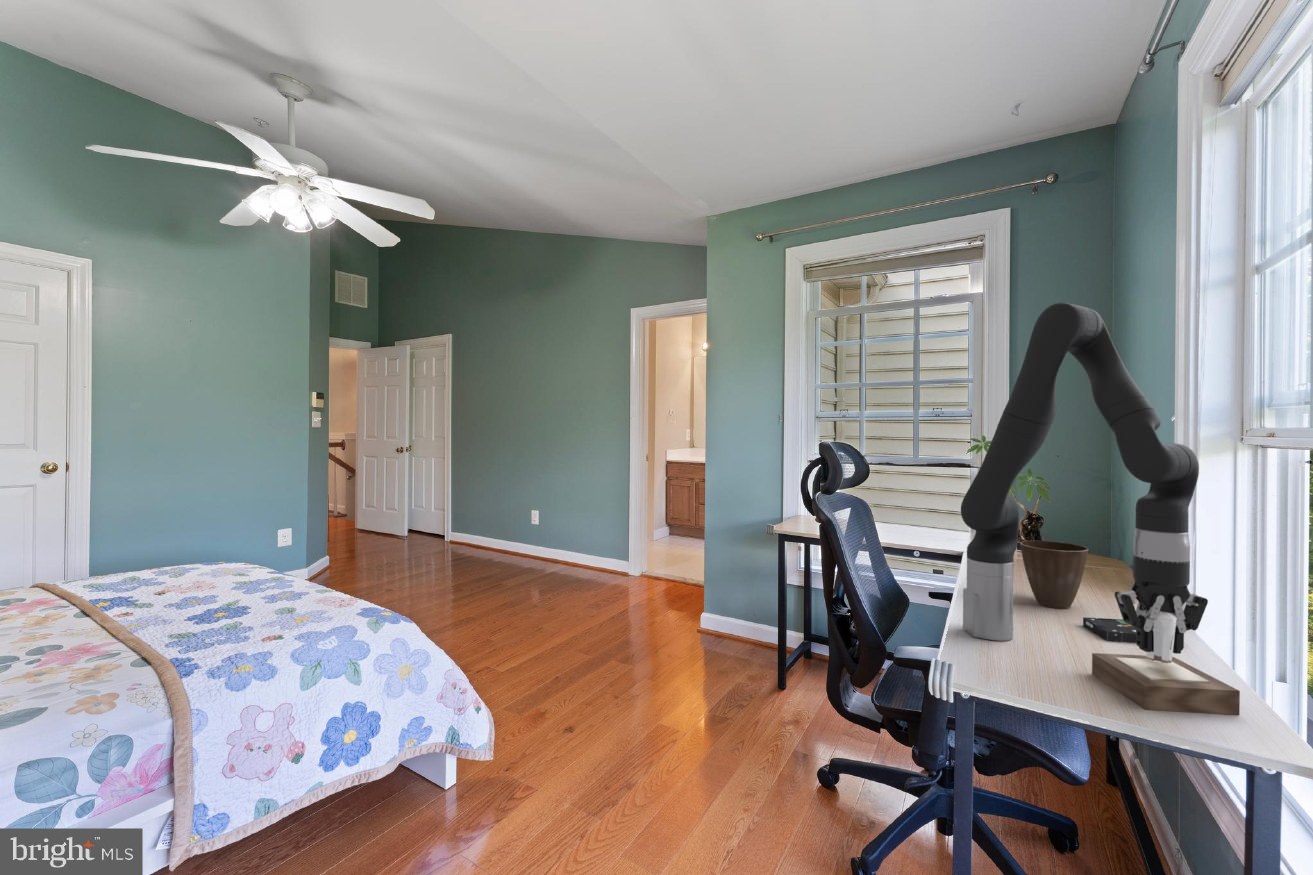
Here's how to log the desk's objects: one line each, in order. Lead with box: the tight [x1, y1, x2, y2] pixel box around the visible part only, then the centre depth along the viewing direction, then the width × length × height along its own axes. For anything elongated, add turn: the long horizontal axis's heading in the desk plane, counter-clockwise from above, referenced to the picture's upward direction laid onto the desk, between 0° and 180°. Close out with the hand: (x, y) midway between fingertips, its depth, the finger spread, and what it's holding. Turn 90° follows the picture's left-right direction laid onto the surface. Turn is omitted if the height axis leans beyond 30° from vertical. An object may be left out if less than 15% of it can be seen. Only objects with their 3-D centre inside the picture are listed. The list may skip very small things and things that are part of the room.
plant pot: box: [1020, 540, 1089, 610], centre depth 151 cm, size 15×15×16 cm
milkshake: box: [1144, 610, 1178, 664], centre depth 100 cm, size 4×5×10 cm
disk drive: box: [1082, 617, 1136, 644], centre depth 128 cm, size 10×3×15 cm
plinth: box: [1091, 652, 1241, 716], centre depth 100 cm, size 14×14×4 cm
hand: (1159, 650), depth 100 cm, fingers closed on milkshake, 4 cm apart
